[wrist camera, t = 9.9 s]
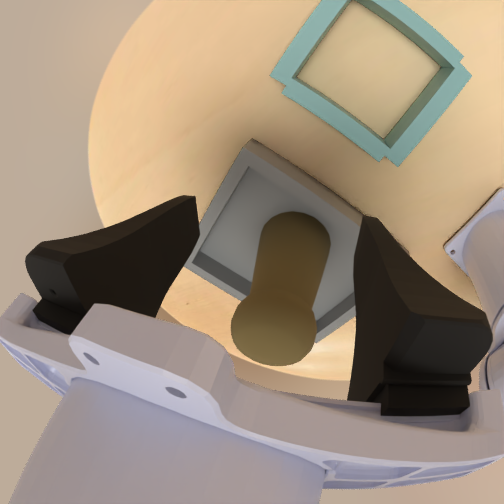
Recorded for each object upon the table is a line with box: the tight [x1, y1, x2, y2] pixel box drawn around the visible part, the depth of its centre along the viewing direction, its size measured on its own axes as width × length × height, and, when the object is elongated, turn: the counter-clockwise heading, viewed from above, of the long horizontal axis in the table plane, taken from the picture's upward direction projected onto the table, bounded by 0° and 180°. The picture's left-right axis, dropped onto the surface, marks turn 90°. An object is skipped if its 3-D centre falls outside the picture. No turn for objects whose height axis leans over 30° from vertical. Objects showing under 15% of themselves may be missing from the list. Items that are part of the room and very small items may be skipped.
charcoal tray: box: [184, 138, 410, 343], centre depth 24 cm, size 16×13×2 cm
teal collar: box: [270, 0, 472, 167], centre depth 14 cm, size 10×10×2 cm
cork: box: [231, 211, 331, 366], centre depth 20 cm, size 6×6×11 cm
